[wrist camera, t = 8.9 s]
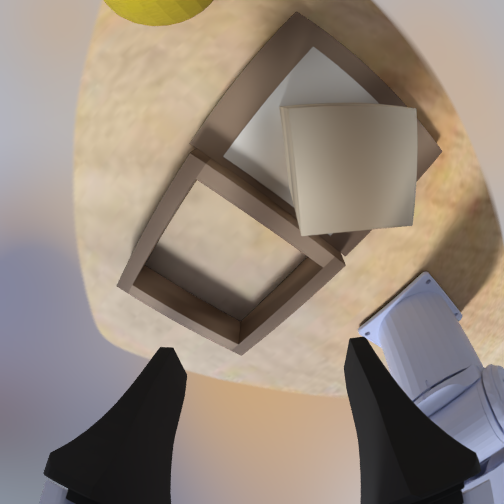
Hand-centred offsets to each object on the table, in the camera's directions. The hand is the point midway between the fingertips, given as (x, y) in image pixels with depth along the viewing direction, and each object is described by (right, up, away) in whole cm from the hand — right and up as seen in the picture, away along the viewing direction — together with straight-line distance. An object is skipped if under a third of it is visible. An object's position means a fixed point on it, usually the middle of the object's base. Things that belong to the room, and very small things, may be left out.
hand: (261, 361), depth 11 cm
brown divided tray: (+1, +7, +7) cm, 10 cm away
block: (+4, +10, +3) cm, 11 cm away
